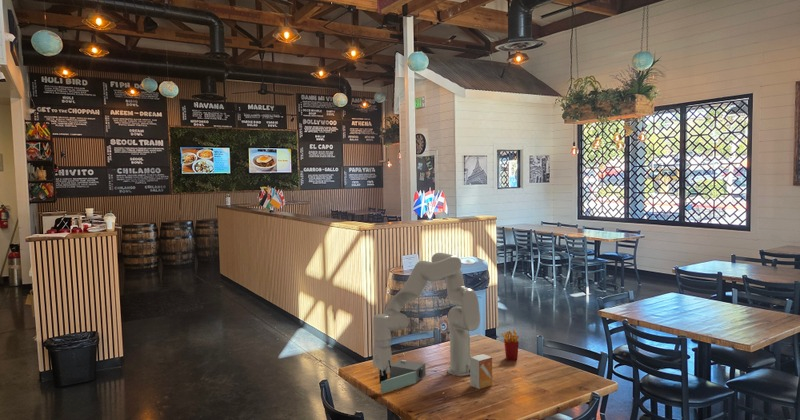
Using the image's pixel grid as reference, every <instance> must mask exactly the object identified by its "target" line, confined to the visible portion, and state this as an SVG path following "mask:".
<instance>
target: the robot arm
mask: <svg viewBox="0 0 800 420" xmlns="http://www.w3.org/2000/svg"><path fill="white" fill-rule="evenodd" d="M461 268H462V260H461V259H460V257H458V256H457V255H454V254H450V253H444V252H436V253H434V254H433V255H432V257H431V261H428V260H420V261H418V262H416V264H415V265H414V267H413V269H412V270H411V272H410V275H409V277H408V278H407V281H406V282H405V283H404V286H403V287H402V288H401V289H400V290H399V291H397V292H396V293H395V294H394V296H392V297H391V299H390V300H389V302H388V303H387V305H386V307H385V309H384V311H383V313H379V314H375V315H374V316H373V318H372V321H373V322H372V323H373V324H372V325H373V326H372V329H373V348H372V364H373V366H374V367H375V368H377V369H378V375H379V377H378V378H379V384H380V385H381V381H384V380H387V379H388V374H390V369H391V368H392V364H393V357H392V349H391V346H392V342H391V341H392V338H391V337H392V334H391V331H402V330H405V329H406V328H407V327H408V325H409V323H410V321H409V318H408V316H407V315H406V314H405V313H402V312H401V310H402V308H404V306H405V305H406V304H407V303H409V302H412V301H414V300H416V299H419V298H420V297H421V295H422V293H423V292H424V289H425V288H426V285H427V283H428V282H437V281H441V280H444V279H445V283H446V285H445V286H446V292H447V298H448V302H449V303H450V304H451V305H454V306H453V307H451V308H450V309H449V311H448V313H447V323H448V327H449V347H450V349H449V351H450V353H449V355H450V366H448V367H447V370H446V371H447V373H448V374H449V375H451V376H457V377H464V376H465V377H466V376H470V357H471V337H470V336H471V335H470V332H474V331H476V330H477V329H478V328H479V327H480V324H481V314H480V313H481V312H480V304H479V298H478V294H477V293H476V291H475V290H474V289H472V288H469V287H466V286H465V280H464V275H463V271H462V269H461Z"/></svg>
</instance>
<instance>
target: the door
mask: <svg viewBox="0 0 800 420" xmlns="http://www.w3.org/2000/svg"><path fill="white" fill-rule="evenodd" d="M414 384H417V383H416V371H414V372H411V373H407V374H404V375H400V376H397V377H394V378H390V377H389V378H387V380H384V381H381V384H380V393H381V394H385V393H386V394H387V393H388V392H392V391H394V390H398V389H401V388H404V387H407V386H410V385H414Z"/></svg>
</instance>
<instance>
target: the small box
mask: <svg viewBox="0 0 800 420" xmlns="http://www.w3.org/2000/svg"><path fill="white" fill-rule="evenodd" d="M469 377H470V379H469V381H470V386H471V387H473V388H476V389H478V390H482V389H485V388H487V387H491V386H493V357H492V356H489V355H487V354H485V353H481V354H477V355H476V354H475V355H474V356H470V375H469Z"/></svg>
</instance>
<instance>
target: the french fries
mask: <svg viewBox="0 0 800 420" xmlns="http://www.w3.org/2000/svg"><path fill="white" fill-rule="evenodd" d="M501 336H502V337H503V343H504V353H505V360H506V361H508V362H517V361H518V355H519V345H520V342H519V341H518V340H519V338H520V336H519V335H517V332H516V330H515V329H512V331H511V330H509V331H506V332H504V333H502V334H501Z"/></svg>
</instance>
